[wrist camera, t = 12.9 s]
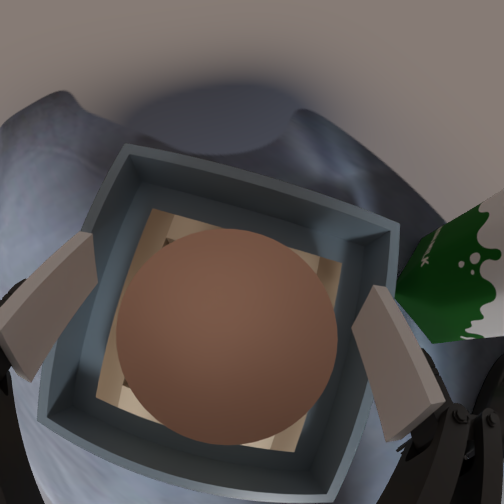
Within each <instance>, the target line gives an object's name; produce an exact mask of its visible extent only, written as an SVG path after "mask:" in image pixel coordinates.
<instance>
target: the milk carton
mask: <svg viewBox="0 0 504 504" xmlns="http://www.w3.org/2000/svg"><path fill="white" fill-rule="evenodd" d="M394 298H395V299H396V301H397V302H398V303H399V304H400V305H401V306H402V307H403V309H404V310H405V311H406V312H407V313H408V315H409V316H410V317H411V318H412V319H413V320H414V322H415V323H416V324H417V325H418V327H419V328H420V329H421V330H422V331H423V333H424V334H425V335H426V336H427V338H428V339H429V340H430V341H431V343H432V344H435V343H444V342H452V341H459V340H467V339H479V338H489V337H498V336H504V189H503V190H501V191H500V192H498V193H497V194H495V195H493V196H492V197H490V198H489V199H487V200H485V201H484V202H482V203H481V204H479V205H477V206H476V207H474V208H472V209H471V210H469V211H467V212H466V213H464V214H462V215H461V216H459V217H457V218H455V219H454V220H452V221H451V222H448V223H447V224H445V225H443V226H442V227H440V228H438V229H437V230H435V231H433V232H432V233H430V234H428V235H427V236H425V237H423V238H422V239H421V241H420V243H419V244H418V246H417V248H416V250H415V251H414V253H413V255H412V256H411V258H410V260H409V261H408V263H407V265H406V266H405V268H404V270H403V271H402V273H401V274H400V276H399V277H398V279H397V281H396V288H395V297H394Z"/></svg>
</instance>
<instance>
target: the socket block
mask: <svg viewBox="0 0 504 504" xmlns="http://www.w3.org/2000/svg"><path fill="white" fill-rule="evenodd" d="M213 229H225V228H221V227H218V226H214V225H211V224H207V223H204V222H200V221H197V220H193V219H189V218H186V217H182V216H179V215H175V214H171V213H168V212H164V211H161V210H157V209H153V208H152V211H151V213H150V216H149V218H148V220H147V223H146V225H145V228H144V230H143V233H142V235H141V238H140V241H139V243H138V246H137V249H136V251H135V254H134V257H133V260H132V262H131V265H130V268H129V271H128V274H127V277H126V280H125V283H124V286H123V289H122V292H121V296H120V299H119V302H118V305H117V309H116V312H115V316H114V319H113V323H112V326H111V330H110V334H109V338H108V342H107V346H106V350H105V354H104V358H103V363H102V367H101V372H100V377H99V382H98V387H97V392H96V398H98V399H100V400H103V401H105V402H107V403H109V404H111V405H113V406H116V407H118V408H120V409H123V410H125V411H127V412H130V413H132V414H135V415H137V416H140V417H143V418H145V419H148V420H151V421H154V422H156V423H159V424H162V423H160V422H159V421H158V420H156V419H155V418H154V417H153V416H152V415H151V414H150V413H149V412H148V411H147V410H146V409H145V408H144V407H143V406H142V405H141V403H140V402H139V401H138V400H137V398H136V397H135V395H134V394H133V392H132V391H131V389H130V387H129V386H128V383H127V381H126V379H125V377H124V375H123V372H122V369H121V365H120V362H119V359H118V352H117V345H116V326H117V318H118V313H119V309H120V305H121V302H122V299H123V297H124V294H125V292H126V290H127V288H128V286H129V284H130V282H131V281H132V279H133V277H134V276H135V274H136V273H137V272H138V271H139V269H140V268H141V267H142V266H143V264H144V263H145V262H146V261H147V260H148V259H150V258H151V257H152V256H153V255H154V254H155V253H156V252H158V251H159V250H160V249H162V248H163V247H165V246H166V245H168V244H170V243H172V242H173V241H175V240H177V239H179V238H182V237H184V236H187V235H190V234H193V233H197V232H201V231H205V230H213ZM288 248H289V249H291V250H292V251H293V252H295V253H296V254H297V255H299V256H300V257H301V258H302V259H303V260H304V261H305V262H306V263H307V264H308V265H309V266H310V267H311V268H312V270H313V271H314V272H315V273H316V275H317V276H318V277H319V279H320V281H321V282H322V284H323V285H324V287H325V289H326V291H327V293H328V296H329V298H330V300H331V303H332V306H333V310H334V305H335V300H336V295H337V290H338V284H339V279H340V273H341V267H342V263H340V262H336V261H333V260H330V259H327V258H323V257H320V256H317V255H313V254H310V253H307V252H303V251H300V250H297V249H293V248H290V247H288ZM306 415H307V413H306V414H305V415H304V416H303V417H302V418H301V419H299V420H298V421H297V422H296V423H294V424H293V425H292V426H290V427H288V428H287V429H285V430H284V431H282V432H280V433H278V434H276V435H274V436H271V437H269V438H266V439H263V440H260V441H257V442H252V443H247V444H241V445H244V446H250V447H256V448H263V449H270V450H278V451H287V452H294V451H295V448H296V445H297V443H298V440H299V437H300V434H301V431H302V428H303V425H304V422H305V419H306ZM162 425H163V424H162Z"/></svg>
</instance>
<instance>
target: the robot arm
mask: <svg viewBox="0 0 504 504" xmlns="http://www.w3.org/2000/svg"><path fill="white" fill-rule="evenodd" d="M97 283H98V278H97V271H96V263H95V255H94V245H93V234H92V233H87V232H82V231H79V232H78V233H77V234H76V235H75V236H73V237H72V238H71V239H70V240H69V241H67V242H66V243H65V244H64V245H63V246H62V247H61V248H59V249H58V250H57V251H56V252H55V253H54V254H53V255H52V256H51V257H49V258H48V259H47V260H46V261H45V262H44V263H43V264H42V265H41V266H40V267H39V268H38V269H37V270H36V271H35V272H34V273H33V274H32V275H31V276H30V277H29V278H28V279H24V280H22V281H20V282H18V283H17V284H15V285H14V286H13V287H12V288H11V289H10V290H9V291H8V294H6V295H5V296H4V297H3V298H2V300H0V504H45V503H44V501H43V499H42V496H41V494H40V491H39V489H38V486H37V484H36V481H35V479H34V476H33V473H32V470H31V467H30V464H29V461H28V458H27V455H26V451H25V448H24V444H23V440H22V436H21V432H20V428H19V423H18V419H17V414H16V408H15V402H14V396H13V389H12V380H11V375H10V372H9V369H10V367H11V366H12V367H13V369H14V370H15V372H16V373H17V375H18V376H20V377H22V378H23V379H25V380H27V381H29V382H30V383H31V382H32V380H33V378H34V377H35V375H36V373H37V371H38V370H39V368H40V366H41V365H42V363H43V361H44V360H45V358H46V356H47V355H48V353H49V352H50V350H51V349H52V347H53V345H54V344H55V342H56V341H57V339H58V338H59V336H60V335H61V333H62V332H63V330H64V329H65V327H66V326H67V324H68V323H69V321H70V320H71V319H72V317H73V316H74V314H75V313H76V312H77V310H78V309H79V307H80V306H81V305H82V303H83V302H84V301H85V299H86V298H87V297H88V295H89V294H90V293H91V291H92V290H93V289H94V287H95V286H96V285H97ZM351 329H352V332H353V334H354V337H355V340H356V343H357V346H358V349H359V352H360V355H361V358H362V361H363V364H364V367H365V370H366V374H367V377H368V380H369V383H370V386H371V390H372V393H373V397H374V400H375V403H376V407H377V410H378V414H379V418H380V421H381V425H382V429H383V433H384V437H385V441H386V442H390V441H396V440H401V439H402V438H404V437H405V436H406V435H407V434H409V433H410V432H411V436H412V438H411V439H409V440H408V441H407V442H405V443H404V444H403V445H401V446H400V447H398V449H397V450H396V451H397V452H399V451H400V450H402V449H403V448H404V447H405V449H404V451H403V452H401V454H402V456H401V458H400V460H399V462H398V464H397V466H396V468H395V470H394V472H393V474H392V476H391V478H390V480H389V482H388V484H387V486H386V488H385V489H384V491H383V493H382V495H381V496H380V498H379V500H378V502H377V503H376V504H501V498H502V482H503V462H504V354H503V355H502V356H501V357H500V358H499V359H498V360H497V361H496V363H495V364H494V366H493V367H492V369H491V371H490V372H489V374H488V376H487V378H486V380H485V382H484V384H483V387H482V389H481V391H480V394H479V397H478V399H477V402H476V405H475V408H474V411H473V414H472V415H471V414H469V412H468V411H467V409H466V408H465V407H464V406H463V405H461V404H458V403H453V402H452V400H451V398H450V396H449V394H448V391H447V389H446V387H445V385H444V383H443V381H442V378H441V376H439V372H438V370H437V368H435V364H434V362H433V360H432V358H431V357H430V355H429V354H428V353H427V352H426V351H425V350H424V349H423V348H420V346H419V344H418V342H417V340H416V338H415V336H414V334H413V333H412V331H411V329H410V327H409V325H408V323H407V322H406V320H405V318H404V316H403V315H402V313H401V311H400V309H399V308H398V306H397V304H396V302H395V301H394V299H393V297H392V296H391V294H390V292H389V291H388V289H387V287H384V286H378V285H373V286H372V288H371V290H370V293H369V295H368V297H367V299H366V301H365V302H364V304H363V306H362V308H361V310H360V312H359V314H358V316H357V318H356V320H355V322H354V323H353V325H352V327H351ZM467 454H468V456H469V458H470V459H467Z"/></svg>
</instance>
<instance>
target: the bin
mask: <svg viewBox="0 0 504 504" xmlns="http://www.w3.org/2000/svg"><path fill="white" fill-rule="evenodd" d="M152 208H153V209H157V210H161V211H164V212H168V213H171V214H175V215H179V216H182V217H186V218H189V219H193V220H197V221H200V222H204V223H207V224H211V225H214V226H218V227H221V228H225V229H238V230H245V231H250V232H254V233H258V234H261V235H264V236H266V237H269V238H271V239H274V240H276V241H278V242H279V243H281V244H283V245H285V246H287V247H290V248H293V249H297V250H300V251H303V252H307V253H310V254H313V255H317V256H320V257H323V258H327V259H330V260H333V261H336V262H340V263H342V267H341V273H340V279H339V284H338V290H337V295H336V300H335V305H334V313H335V318H336V324H337V337H338V342H337V354H336V359H335V363H334V368H333V371H332V373H331V376H330V379H329V381H328V383H327V385H326V387H325V389H324V391H323V393H322V394H321V396H320V397H319V399H318V400H317V401H316V403H315V404H314V405H313V407H312V408H311V409H310V410H309V411H308V412H307V415H306V419H305V422H304V425H303V428H302V431H301V434H300V437H299V440H298V443H297V445H296V448H295V451H294V452H287V451H278V450H270V449H263V448H256V447H250V446H244V445H217V444H209V443H204V442H200V441H196V440H193V439H190V438H188V437H185V436H182V435H180V434H178V433H176V432H175V431H173V430H171V429H169V428H167V427H166V426H165V425H162V424H159V423H156V422H154V421H151V420H148V419H145V418H143V417H140V416H137V415H135V414H132V413H130V412H127V411H125V410H123V409H120V408H118V407H116V406H113V405H111V404H109V403H107V402H105V401H103V400H100V399H98V398H96V392H97V387H98V382H99V377H100V372H101V367H102V363H103V358H104V354H105V350H106V346H107V342H108V338H109V334H110V330H111V326H112V323H113V319H114V316H115V312H116V309H117V305H118V302H119V299H120V296H121V292H122V289H123V286H124V283H125V280H126V277H127V274H128V271H129V268H130V265H131V262H132V260H133V257H134V254H135V251H136V249H137V246H138V243H139V241H140V238H141V235H142V233H143V230H144V228H145V225H146V223H147V220H148V218H149V216H150V213H151V211H152ZM81 231H82V232H87V233H92V234H93V245H94V255H95V263H96V271H97V278H98V283H97V285H96V286H95V287H94V289H93V290H92V291H91V293H90V294H89V295H88V297H87V298H86V299H85V301H84V302H83V303H82V305H81V306H80V307H79V309H78V310H77V312H76V313H75V314H74V316H73V317H72V319H71V320H70V321H69V323H68V324H67V326H66V327H65V329H64V330H63V332H62V333H61V335H60V336H59V338H58V339H57V341H56V342H55V344H54V345H53V347H52V349H51V350H50V352H49V353H48V355H47V356H46V358H45V360H44V361H43V365H42V372H41V380H40V388H39V398H38V411H37V421H38V422H40V423H41V424H43V425H44V426H46V427H47V428H49V429H50V430H52V431H53V432H55V433H56V434H58V435H60V436H61V437H63V438H65V439H66V440H68V441H70V442H72V443H73V444H75V445H77V446H79V447H81V448H83V449H84V450H86V451H88V452H90V453H92V454H94V455H96V456H98V457H100V458H102V459H105V460H107V461H109V462H111V463H113V464H116V465H118V466H120V467H123V468H125V469H128V470H130V471H133V472H135V473H138V474H141V475H144V476H146V477H149V478H152V479H155V480H158V481H161V482H165V483H168V484H171V485H175V486H178V487H182V488H186V489H190V490H194V491H198V492H203V493H207V494H212V495H218V496H223V497H229V498H236V499H243V500H252V501H262V502H276V503H328V502H334V500H335V498H336V496H337V494H338V492H339V490H340V488H341V485H342V483H343V481H344V479H345V477H346V474H347V472H348V470H349V467H350V465H351V463H352V460H353V458H354V455H355V453H356V450H357V447H358V445H359V442H360V439H361V437H362V434H363V431H364V428H365V425H366V422H367V419H368V416H369V413H370V409H371V406H372V403H373V399H374V397H373V393H372V390H371V386H370V383H369V380H368V377H367V374H366V370H365V367H364V364H363V361H362V358H361V355H360V352H359V349H358V346H357V343H356V340H355V337H354V334H353V332H352V329H351V327H352V325H353V323H354V322H355V320H356V318H357V316H358V314H359V312H360V310H361V308H362V306H363V304H364V302H365V301H366V299H367V297H368V295H369V293H370V290H371V288H372V286H373V285H378V286H384V287H387V289H388V291H389V292H390V294H391V296H392V297H393V299H394V297H395V288H396V279H397V269H398V256H399V239H400V223H397V222H395V221H392V220H390V219H388V218H385V217H383V216H380V215H378V214H375V213H373V212H370V211H367V210H365V209H362V208H360V207H357V206H354V205H352V204H349V203H346V202H343V201H341V200H338V199H335V198H332V197H329V196H327V195H324V194H321V193H318V192H315V191H312V190H309V189H306V188H303V187H300V186H297V185H294V184H290V183H287V182H284V181H281V180H277V179H274V178H271V177H267V176H264V175H261V174H257V173H254V172H250V171H247V170H243V169H239V168H236V167H232V166H228V165H224V164H220V163H216V162H212V161H208V160H204V159H200V158H196V157H192V156H187V155H183V154H178V153H174V152H169V151H164V150H159V149H154V148H149V147H144V146H139V145H133V144H128V143H125V144H124V145H123V147H122V149H121V151H120V152H119V154H118V156H117V157H116V159H115V161H114V163H113V165H112V166H111V168H110V170H109V172H108V174H107V176H106V178H105V180H104V181H103V183H102V185H101V187H100V189H99V191H98V193H97V195H96V198H95V200H94V202H93V204H92V206H91V208H90V210H89V213H88V215H87V217H86V219H85V222H84V224H83V226H82V229H81Z"/></svg>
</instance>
